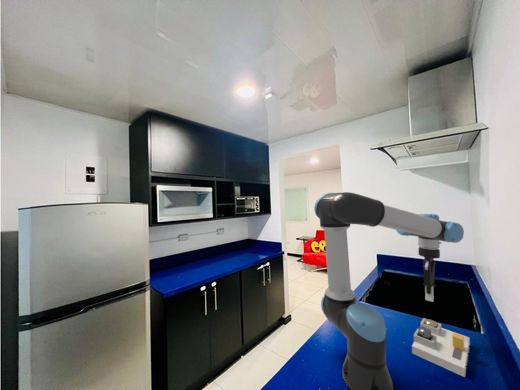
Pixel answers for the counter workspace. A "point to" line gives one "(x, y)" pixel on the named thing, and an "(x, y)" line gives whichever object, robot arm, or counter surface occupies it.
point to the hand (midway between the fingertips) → (429, 300)
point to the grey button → (425, 333)
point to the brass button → (431, 323)
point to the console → (441, 349)
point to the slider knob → (458, 341)
